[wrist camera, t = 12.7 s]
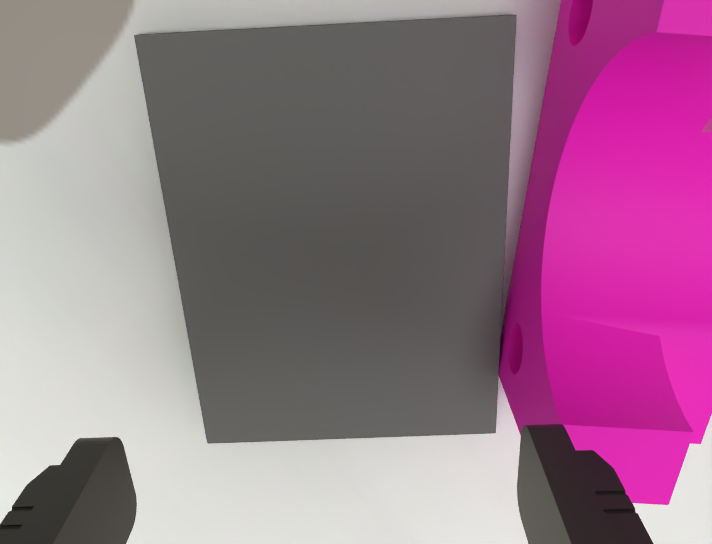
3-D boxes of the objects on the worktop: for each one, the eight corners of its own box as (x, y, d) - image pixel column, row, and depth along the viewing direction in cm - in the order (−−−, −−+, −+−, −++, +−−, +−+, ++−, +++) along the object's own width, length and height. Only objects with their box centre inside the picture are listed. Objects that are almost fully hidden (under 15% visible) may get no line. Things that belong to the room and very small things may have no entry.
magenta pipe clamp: (646, 372, 26) (750, 509, 19) (494, 363, 25) (544, 497, 19) (765, -35, 20) (986, -53, 13) (568, -50, 19) (682, -76, 13)
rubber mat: (140, 34, 20) (134, 35, 20) (512, 14, 20) (516, 15, 19) (210, 434, 27) (207, 443, 26) (492, 424, 26) (495, 433, 26)
